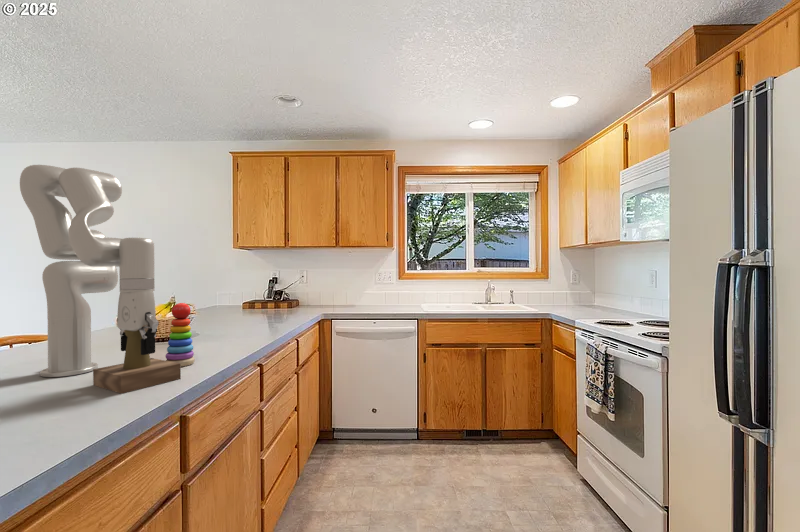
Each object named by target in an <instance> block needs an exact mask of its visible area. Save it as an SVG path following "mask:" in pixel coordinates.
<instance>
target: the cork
mask: <svg viewBox="0 0 800 532" xmlns="http://www.w3.org/2000/svg"><path fill="white" fill-rule="evenodd" d="M145 332H147V331H145ZM125 335H126V336H127V337H128V338H127V345H126V351H124V352H125V353H124V359H123V360H124V361H123V363H124V365H123V368H124V369H138V368H144V367H148V366H150V365H151V362H150V358H151V357H150V356H151V355H150V354H146V355H141V339H143V338H142V335H141V333H140V331H139V329H138V330H137V331H128V330H125Z"/></svg>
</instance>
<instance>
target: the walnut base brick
mask: <svg viewBox="0 0 800 532" xmlns="http://www.w3.org/2000/svg"><path fill="white" fill-rule="evenodd" d="M150 362H151V365H150V366H148V367H144V368H138V369H124V368H123V365H124V362H123V363H118V364H114V365H108V366H104V367H98V368H97V369H93V371H92V373H93V374H92V375H93V376H92V379H93V380H92V385H93V386H94V387H97V388H101V389H105V390H108V391H112V392H114V393H117V394H118V393H119V394H121V395H122V394H125V393H129V392H133V391H137V390H142V389H146V388H149V387H153V386H157V385H161V384H165V383H169V382H173V381H177V380H181V377H182V376H181V370H182V369H181V367H180V363H175V362H170V361H166V359H165V360H164V359H158V358H153V357H150Z"/></svg>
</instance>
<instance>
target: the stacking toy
mask: <svg viewBox="0 0 800 532" xmlns="http://www.w3.org/2000/svg"><path fill="white" fill-rule="evenodd" d="M191 310H192V309H191V306H190V305H189V304H187V303H185V302H179V303H177V304H176V303H175V305H173V307H172V308H171V314H172V316H173V318H174V319H172V320H171V325H172V326H171V327H170V328H169V331H170V333H169V340H168V342H167V345H168V346H167V348H166V352H167V353H165V361H170V362H175V363H180V367H187V366H191V365H193V364H194V363H195V357H194V355H195V354H194V353H195V352H194V351H193V350H194V345H193V339H192V335H193V334H192V332H191V330H192V328H191V326H190V325H191V320H190V319H189V316H190V315H191Z"/></svg>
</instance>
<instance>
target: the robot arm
mask: <svg viewBox="0 0 800 532" xmlns="http://www.w3.org/2000/svg"><path fill="white" fill-rule="evenodd" d="M19 190H20V194H21V197H22V199H23V202H24V203H25V205H26V206H27V208H28V210H29V212H30V213H31V215H32V217H33V220H34V225H35V228H36V233H37V235H38V240H39V243H40V246H41V247H40V248H41V250H42V252H43V254H44V255H45V256H46V257H47V258H49V259H52V260H60V261H55V262H54V261H53V262H51V263H50V264H48V265H47V266H46V267H45V268H43V272H42V277H41V278H42V283H43V287H44V288H43V289H44V292H45V296H46V297H45V299H46V308H47V367H45V368H44V369H41V370H40V372H39V374H40V376H41V377H43V378H59V377H68V376H69V377H71V376H77V375H81V374H85V373H90V372H93V369H97V368H99V364H98V363H97V362H92V311H91V310H92V309H91V306H90V304H89V303H88V302H87V300H86V299H85V298H84V296H83V295H84V294H96V293H97V294H99V293H107V292H110V291H111V292H112V291H113V290H114V289H115V288H116V287H117V284H118V282H119V296H118V303H117V315H116V316H117V318H116V319H117V320H116V321H117V323H116V325H117V326H116V327H117V328H118V329H119V331H120V332H119V335H120V351H121V352H126V345H127V338H128V337H127V336H126V335H125V330H128V331H137V330H138V329H139V331H140V333H141V335H142V338H143V339H141V355H146V354H149V355H150V354H151V355H153V354H155V352H156V337H157V332H158V326H159V324H160V323H159V320H158V319H157V318H156V303H155V302H156V301H155V294H154V292H155V243H154V241H153V239H150V238H146V237H124V238H118V237H108V236H107V237H106V235H105V234H104V233H102V232H101V231H99V230H95V229H90V227H94V226H98V225H101V224H103V223H106V222H108V221H109V220H110V219H111V218H112V217H113V215H114V212H115V210H114V207H113V204H112V203H114V202H116V201H118V200H119V199H120V198H121V196H122V193H123V187H122V184H121V182H120V180H119V179H118V178H117V177H116V176H115V175H113V174H111V173H108V172H103V171H97V170H92V169H88V168H84V167H69V168H65V167H59V166H54V165H47V164H32V165H29V166H26V167H25V168H23V170H22V171H21V173H20V177H19ZM56 197H61V198H66V199H67V201H68V202H69V205H70V206H71V208H72V210H73V212H74V213H75V215H74V216H72V213H71V212H70V211H69V209H68V208H67V207H66V206H65V204H63V203H62V202H61V201H59V200H58V199H57V198H56ZM117 267H118V268H119V275H118V269H117ZM145 331H147V332H145Z"/></svg>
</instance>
